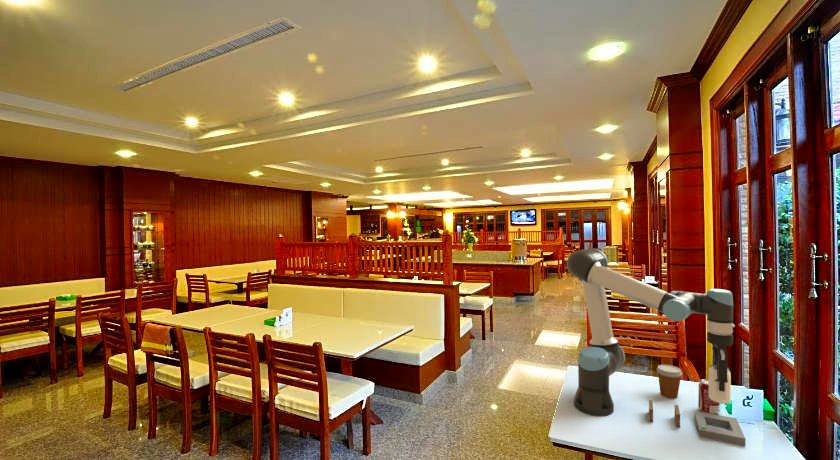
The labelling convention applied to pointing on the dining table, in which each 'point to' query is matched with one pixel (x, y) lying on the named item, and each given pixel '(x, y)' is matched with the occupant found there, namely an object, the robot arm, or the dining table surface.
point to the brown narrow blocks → (677, 413)
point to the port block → (715, 433)
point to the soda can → (706, 398)
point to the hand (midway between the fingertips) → (719, 394)
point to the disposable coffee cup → (669, 380)
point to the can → (713, 385)
